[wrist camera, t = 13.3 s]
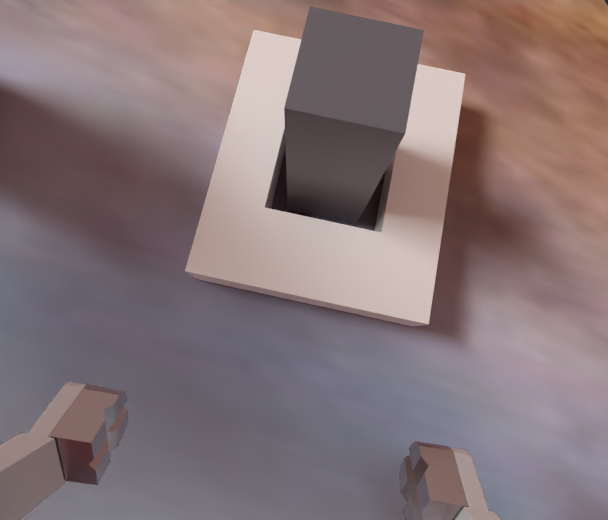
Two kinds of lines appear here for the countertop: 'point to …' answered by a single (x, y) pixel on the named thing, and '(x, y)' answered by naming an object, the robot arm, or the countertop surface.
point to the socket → (320, 233)
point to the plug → (346, 111)
